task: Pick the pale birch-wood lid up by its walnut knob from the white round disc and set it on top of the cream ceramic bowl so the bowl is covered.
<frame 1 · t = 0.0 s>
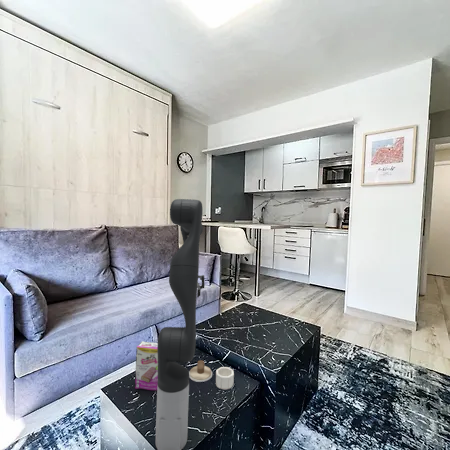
hand: (189, 296, 118), 29 cm above the table, fingers open, 8 cm apart
white round disc: (200, 374, 105), on the table
candy bar box: (150, 387, 96), on the table
lid: (200, 373, 105), resting on white round disc
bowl: (224, 383, 100), on the table
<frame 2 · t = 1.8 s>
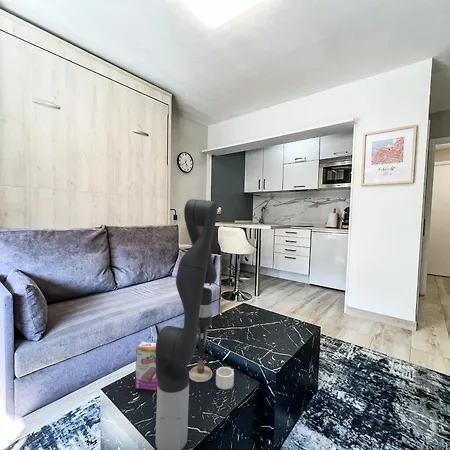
hand: (202, 350, 106), 10 cm above the table, fingers open, 8 cm apart
nothing on the table moved.
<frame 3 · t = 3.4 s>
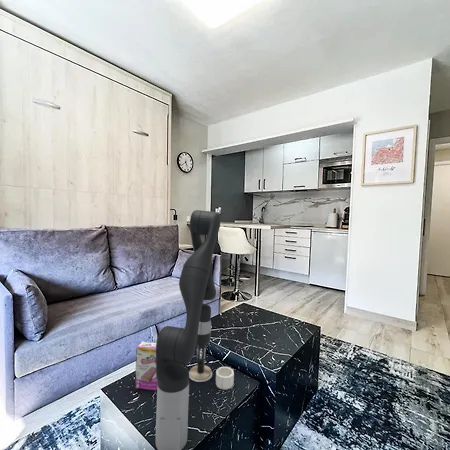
hand: (200, 370, 105), 2 cm above the table, fingers closed on lid, 3 cm apart
lid: (200, 372, 105), point 1 cm above the table, touching gripper
everything else where it was.
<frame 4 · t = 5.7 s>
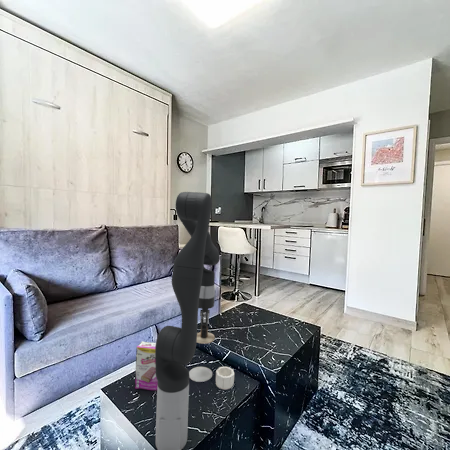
hand: (204, 335, 105), 17 cm above the table, fingers closed on lid, 3 cm apart
lid: (203, 338, 105), point 16 cm above the table, touching gripper
everything else where it was.
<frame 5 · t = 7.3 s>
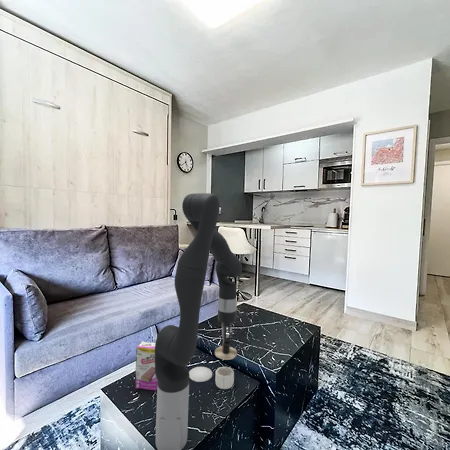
hand: (225, 350, 100), 13 cm above the table, fingers closed on lid, 3 cm apart
lid: (225, 353, 100), point 12 cm above the table, touching gripper
everything else where it was.
when the fingers open (8 cm above the table, at t = 8.5 s): lid drops 2 cm, resting on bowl.
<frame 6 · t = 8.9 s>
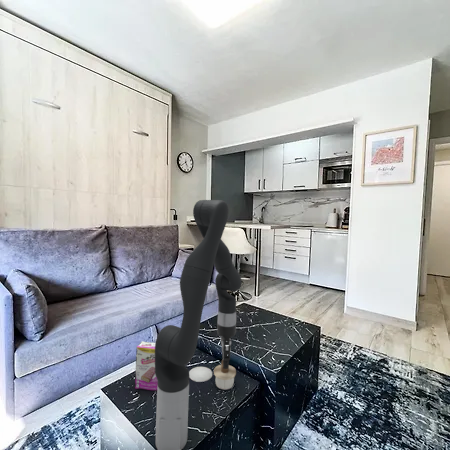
hand: (225, 362, 100), 8 cm above the table, fingers open, 6 cm apart
lid: (224, 372, 99), point 5 cm above the table, touching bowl
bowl: (224, 383, 100), on the table, touching lid
everything else where it was.
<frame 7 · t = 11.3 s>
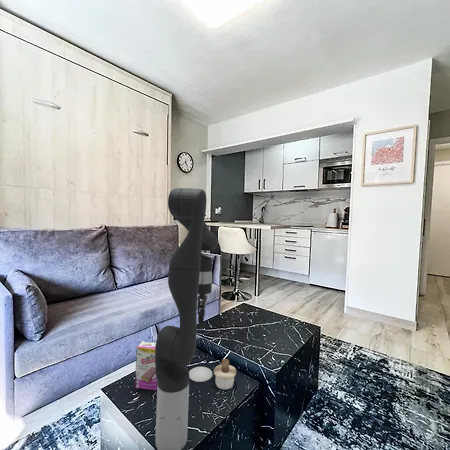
hand: (201, 319, 104), 24 cm above the table, fingers open, 8 cm apart
nothing on the table moved.
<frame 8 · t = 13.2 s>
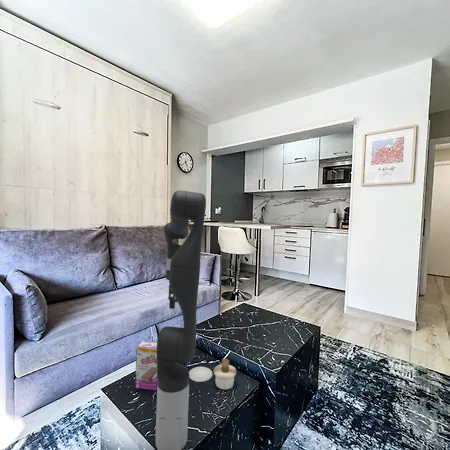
hand: (173, 305, 109), 28 cm above the table, fingers open, 8 cm apart
nothing on the table moved.
at the end: lid 0.3 cm off-centre on the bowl, point 4.8 cm above the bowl's base; lid tilted 0°; the gripper is holding nothing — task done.
